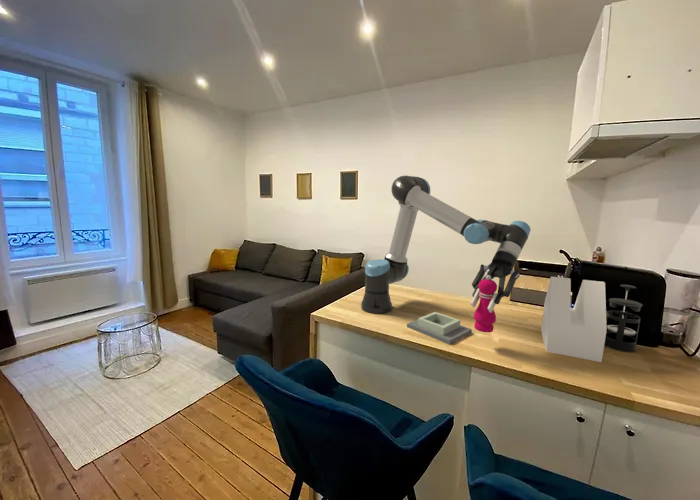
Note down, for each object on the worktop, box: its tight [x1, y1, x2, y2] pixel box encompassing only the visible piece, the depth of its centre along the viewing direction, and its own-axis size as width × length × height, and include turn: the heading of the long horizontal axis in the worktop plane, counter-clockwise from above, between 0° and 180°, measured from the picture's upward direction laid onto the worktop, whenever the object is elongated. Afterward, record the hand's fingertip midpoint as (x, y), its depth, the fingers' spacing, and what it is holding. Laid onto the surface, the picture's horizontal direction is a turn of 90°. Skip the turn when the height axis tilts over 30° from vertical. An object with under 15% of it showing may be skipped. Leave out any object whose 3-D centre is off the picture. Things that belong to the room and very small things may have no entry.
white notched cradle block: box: [540, 276, 608, 363], centre depth 109 cm, size 19×15×25 cm
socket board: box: [406, 311, 473, 345], centre depth 123 cm, size 20×16×4 cm
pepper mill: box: [473, 274, 498, 333], centre depth 106 cm, size 7×7×20 cm
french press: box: [604, 284, 644, 353], centre depth 109 cm, size 12×9×23 cm
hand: (480, 307), depth 104 cm, fingers closed on pepper mill, 5 cm apart
